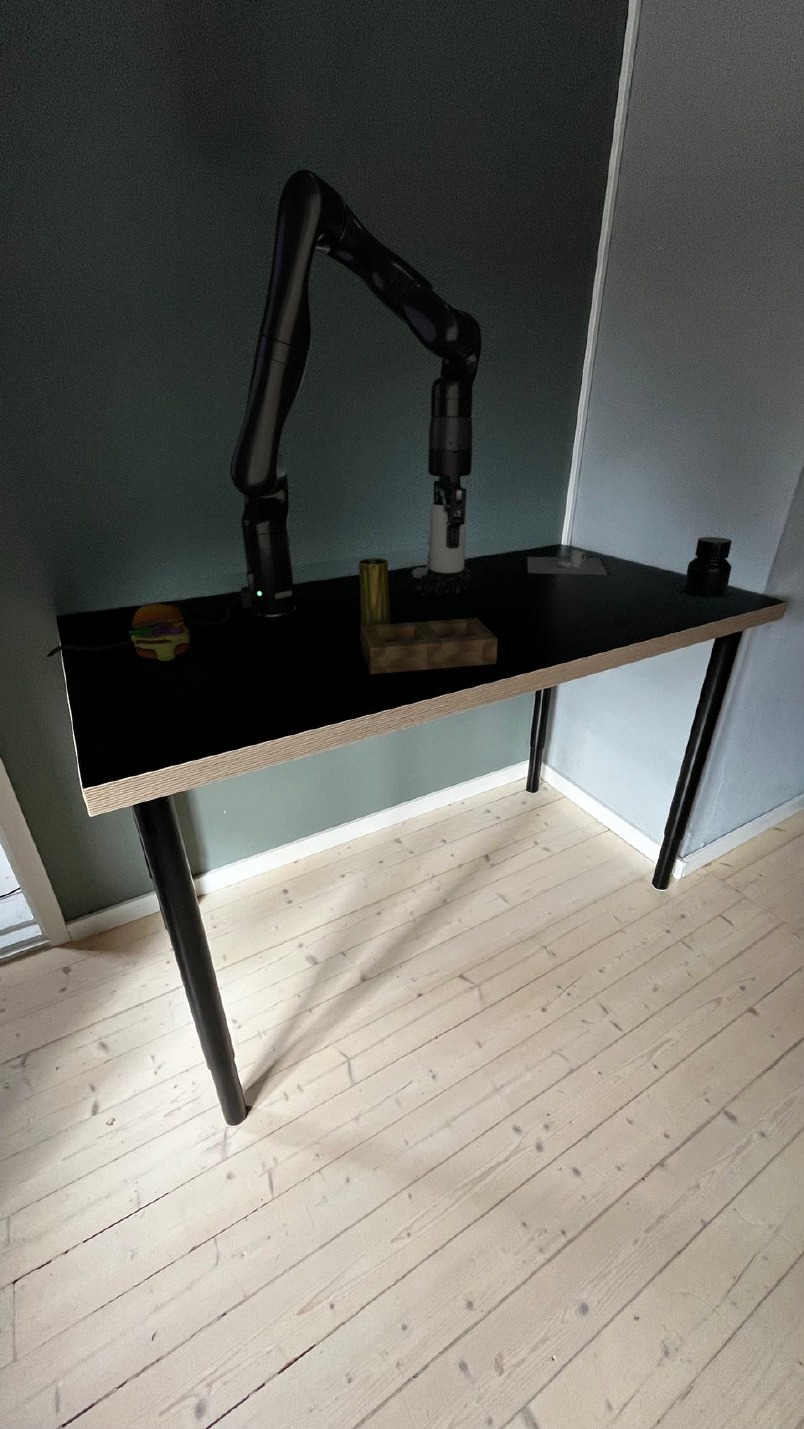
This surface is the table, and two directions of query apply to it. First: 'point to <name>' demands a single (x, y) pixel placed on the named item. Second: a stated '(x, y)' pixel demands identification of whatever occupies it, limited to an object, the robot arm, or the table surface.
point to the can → (439, 553)
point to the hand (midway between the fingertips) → (447, 543)
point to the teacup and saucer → (566, 565)
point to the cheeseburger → (159, 632)
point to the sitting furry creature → (422, 571)
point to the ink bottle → (709, 568)
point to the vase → (374, 592)
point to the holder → (427, 645)
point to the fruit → (443, 583)
